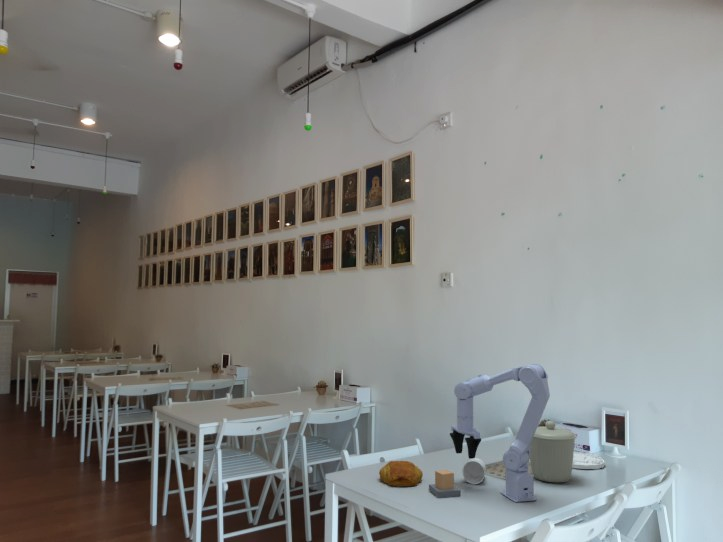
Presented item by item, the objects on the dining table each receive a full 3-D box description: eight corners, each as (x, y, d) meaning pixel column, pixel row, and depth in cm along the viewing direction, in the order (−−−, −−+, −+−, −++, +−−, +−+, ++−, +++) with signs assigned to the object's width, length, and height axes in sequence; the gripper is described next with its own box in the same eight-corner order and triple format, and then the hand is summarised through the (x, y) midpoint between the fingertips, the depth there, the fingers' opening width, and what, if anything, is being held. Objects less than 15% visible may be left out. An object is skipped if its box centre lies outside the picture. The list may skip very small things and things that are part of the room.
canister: (582, 477, 202) (581, 420, 204) (570, 489, 187) (569, 427, 189) (534, 469, 212) (533, 414, 214) (519, 480, 198) (518, 421, 199)
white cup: (491, 473, 200) (488, 479, 191) (471, 481, 202) (468, 487, 193) (481, 452, 203) (478, 457, 193) (462, 460, 204) (458, 465, 195)
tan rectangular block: (453, 488, 181) (453, 472, 181) (442, 490, 179) (442, 474, 180) (446, 484, 185) (446, 469, 186) (435, 486, 183) (435, 470, 184)
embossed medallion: (542, 462, 224) (542, 455, 225) (570, 455, 236) (569, 448, 236) (587, 474, 208) (587, 466, 209) (614, 465, 220) (614, 458, 220)
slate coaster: (460, 496, 179) (460, 490, 179) (437, 498, 177) (438, 491, 177) (450, 488, 187) (450, 482, 187) (428, 490, 185) (428, 484, 185)
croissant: (382, 481, 202) (379, 459, 203) (423, 477, 201) (420, 454, 202) (378, 492, 188) (375, 468, 189) (423, 488, 186) (420, 464, 187)
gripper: (487, 419, 188) (487, 459, 186) (462, 412, 201) (462, 449, 199) (470, 420, 185) (470, 461, 183) (446, 413, 198) (446, 451, 196)
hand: (465, 455), depth 191 cm, fingers open, 7 cm apart
